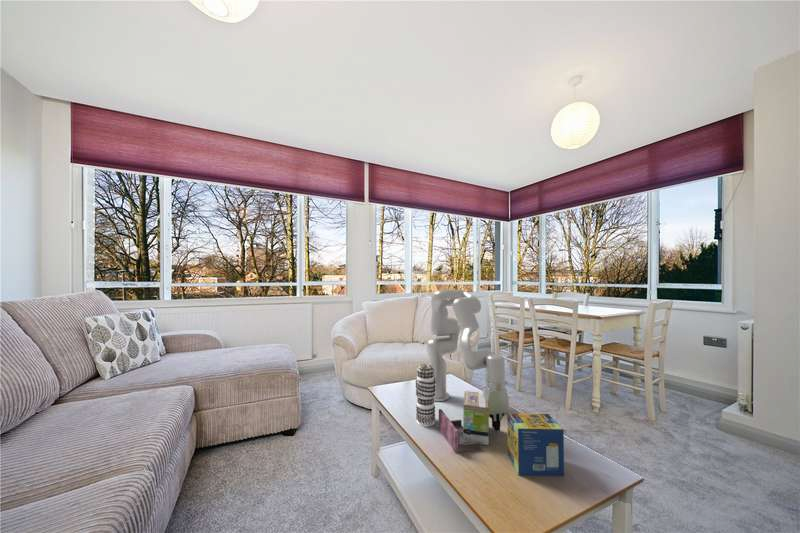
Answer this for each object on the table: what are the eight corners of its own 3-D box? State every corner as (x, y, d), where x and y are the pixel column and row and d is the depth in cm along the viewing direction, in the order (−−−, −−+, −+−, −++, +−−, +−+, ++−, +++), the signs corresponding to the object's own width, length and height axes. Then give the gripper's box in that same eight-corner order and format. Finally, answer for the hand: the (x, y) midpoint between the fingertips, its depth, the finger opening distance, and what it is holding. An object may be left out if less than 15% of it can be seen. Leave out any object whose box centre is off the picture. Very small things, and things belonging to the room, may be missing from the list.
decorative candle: (440, 423, 129) (439, 366, 130) (423, 429, 124) (423, 370, 125) (428, 414, 137) (427, 361, 138) (411, 419, 132) (411, 364, 133)
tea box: (489, 446, 112) (489, 407, 112) (463, 442, 114) (462, 404, 114) (487, 426, 126) (487, 392, 127) (464, 423, 129) (463, 389, 129)
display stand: (438, 428, 125) (438, 409, 125) (460, 425, 127) (460, 406, 127) (455, 453, 107) (454, 431, 108) (480, 449, 110) (480, 428, 110)
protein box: (507, 456, 106) (506, 413, 106) (549, 456, 105) (549, 413, 106) (517, 476, 95) (517, 428, 96) (565, 476, 95) (564, 428, 95)
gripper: (506, 380, 127) (507, 422, 126) (474, 383, 123) (475, 426, 123) (516, 386, 119) (517, 431, 119) (483, 389, 116) (484, 436, 115)
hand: (496, 429), depth 121 cm, fingers closed
